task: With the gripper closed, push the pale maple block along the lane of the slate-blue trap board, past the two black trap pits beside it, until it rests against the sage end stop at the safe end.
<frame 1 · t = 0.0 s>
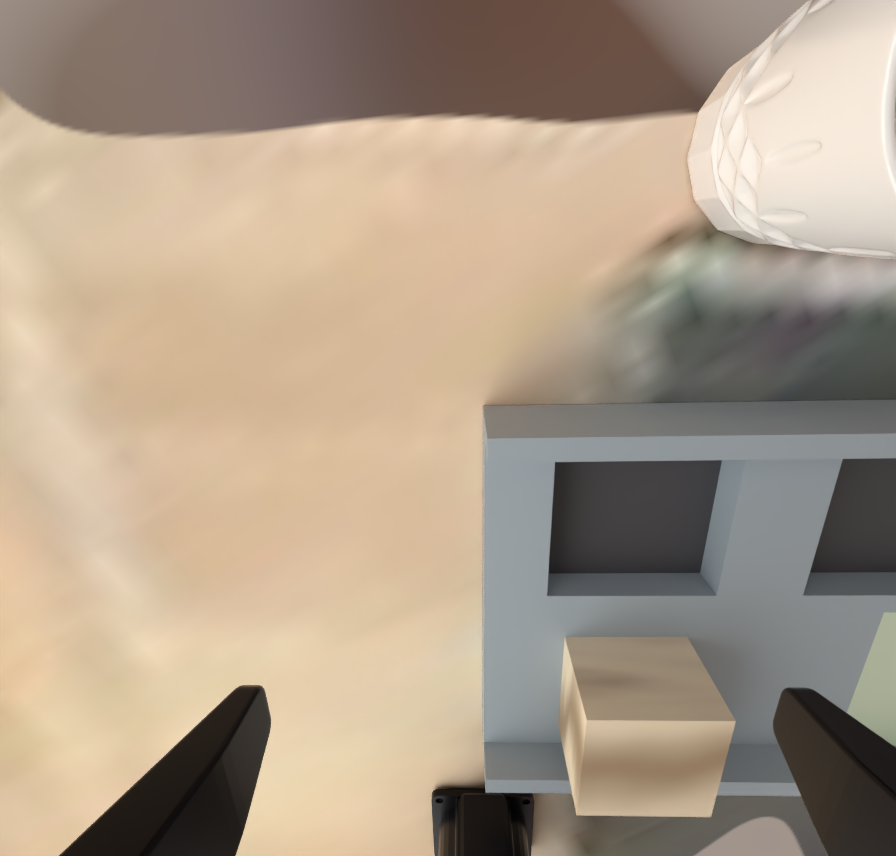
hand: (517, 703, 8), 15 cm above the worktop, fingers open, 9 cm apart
maple block: (619, 682, 25), point 2 cm above the worktop, touching trap board
trap board: (753, 585, 25), on the worktop
white cup: (774, 147, 18), on the worktop
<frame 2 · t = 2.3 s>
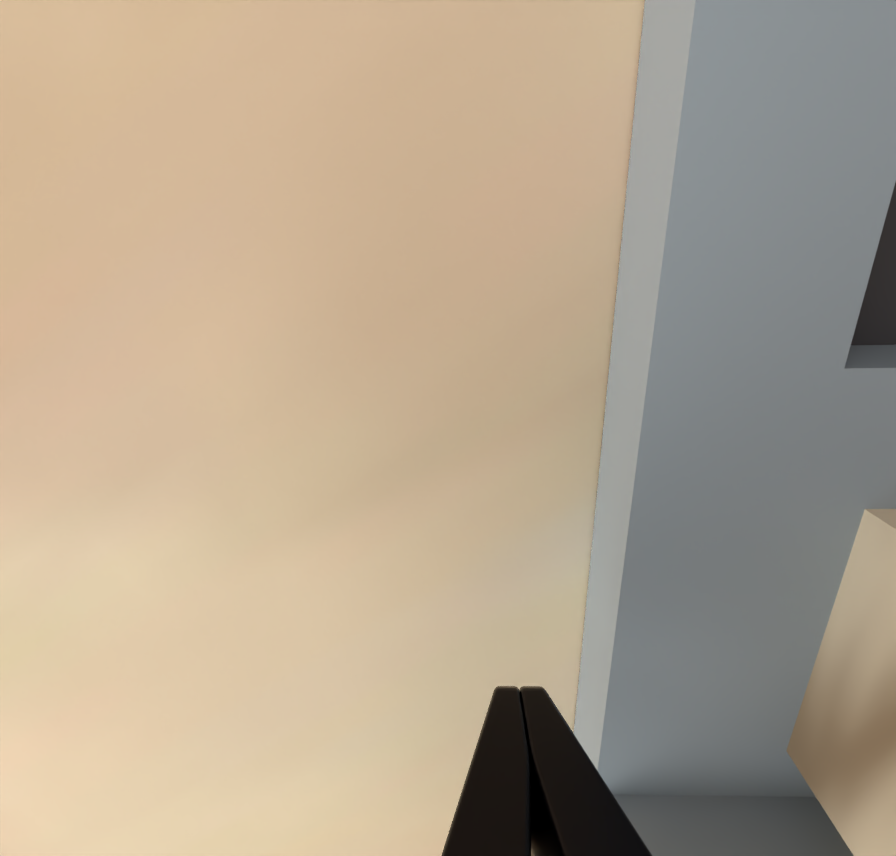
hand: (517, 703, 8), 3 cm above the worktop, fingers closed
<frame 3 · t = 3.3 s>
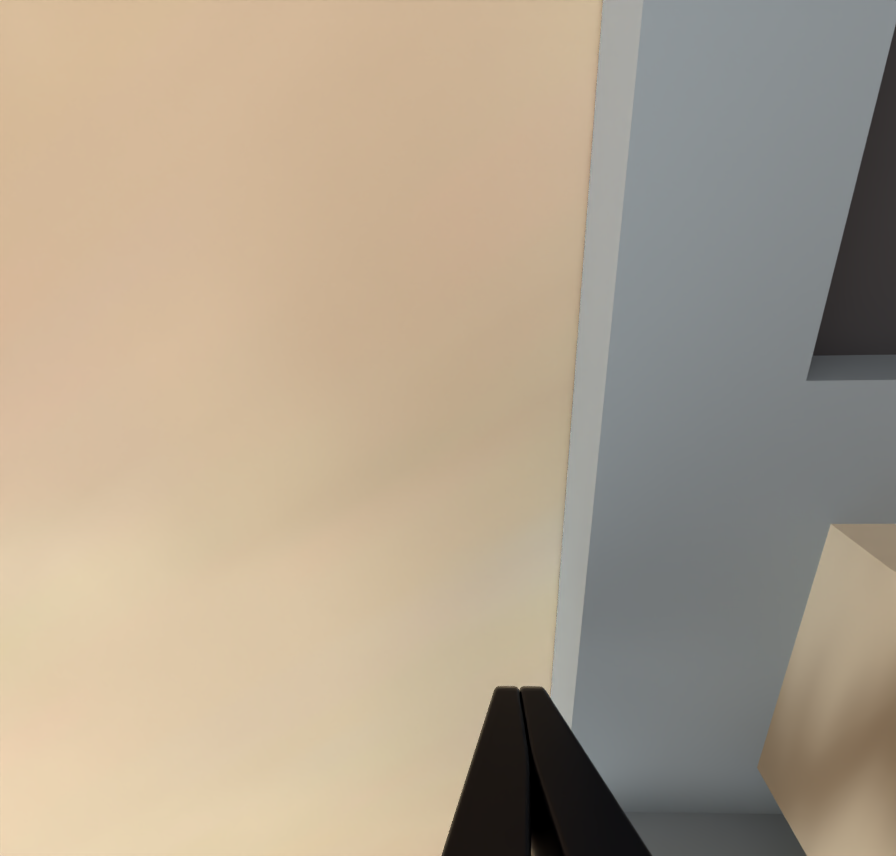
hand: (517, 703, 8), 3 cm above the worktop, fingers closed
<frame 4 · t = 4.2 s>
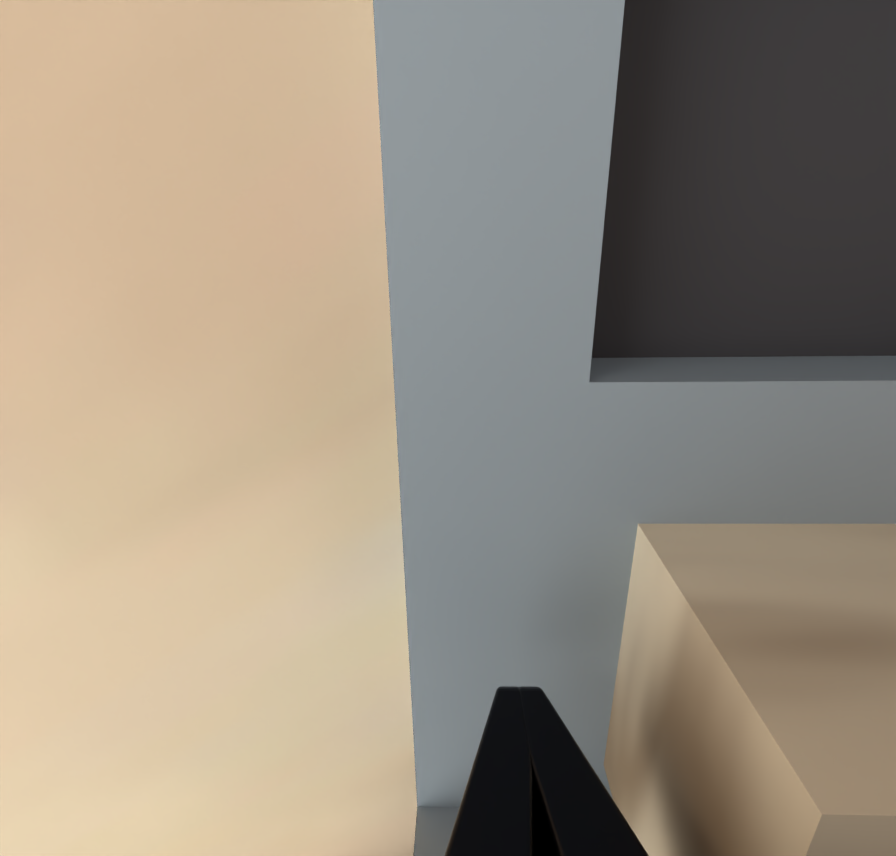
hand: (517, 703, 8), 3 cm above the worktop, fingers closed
maple block: (777, 659, 9), point 2 cm above the worktop, touching gripper, trap board
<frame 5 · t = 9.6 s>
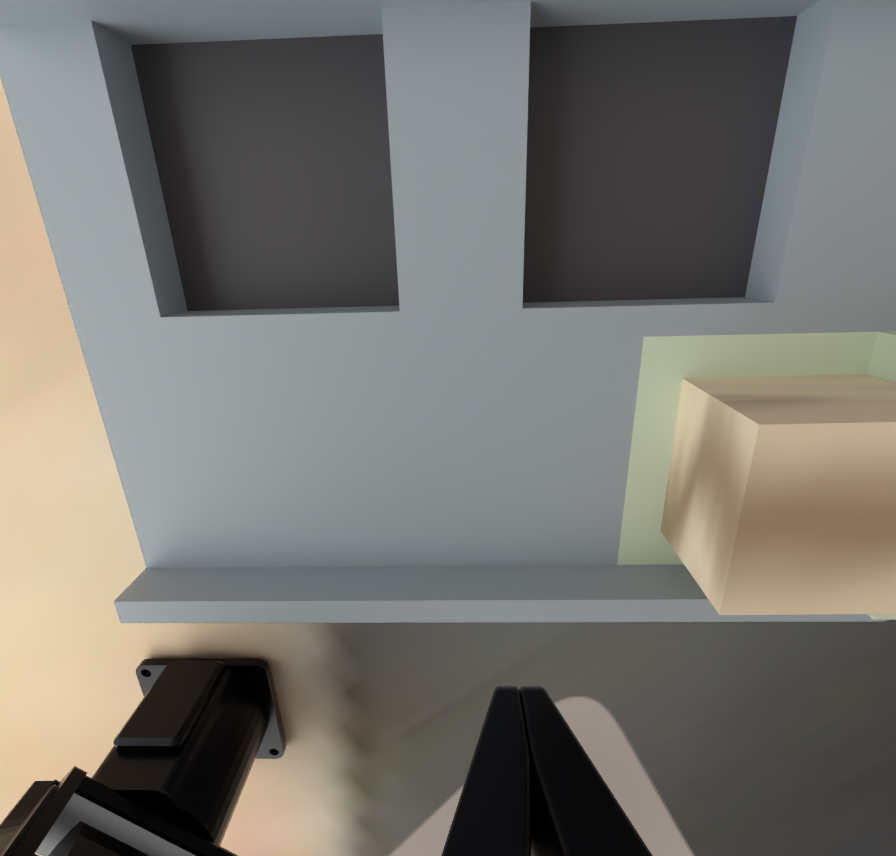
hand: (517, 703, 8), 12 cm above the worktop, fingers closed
maple block: (755, 457, 17), point 2 cm above the worktop, touching trap board
trap board: (488, 330, 18), on the worktop
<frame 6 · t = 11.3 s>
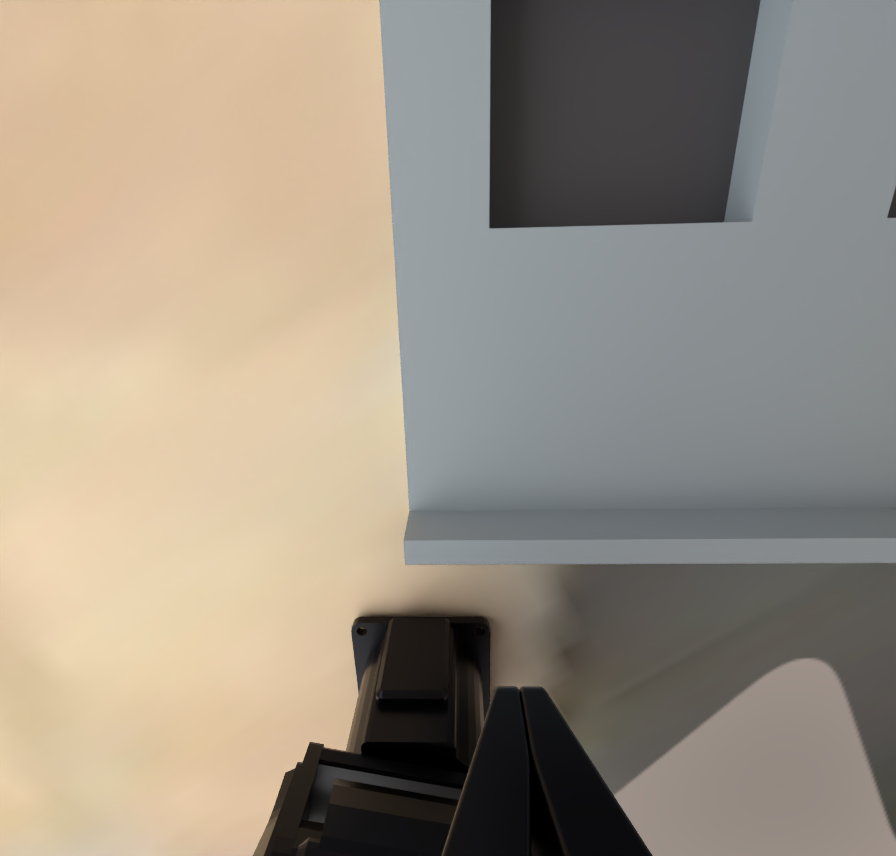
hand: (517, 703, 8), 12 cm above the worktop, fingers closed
trap board: (801, 253, 17), on the worktop
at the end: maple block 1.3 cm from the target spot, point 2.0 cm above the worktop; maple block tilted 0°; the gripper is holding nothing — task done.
